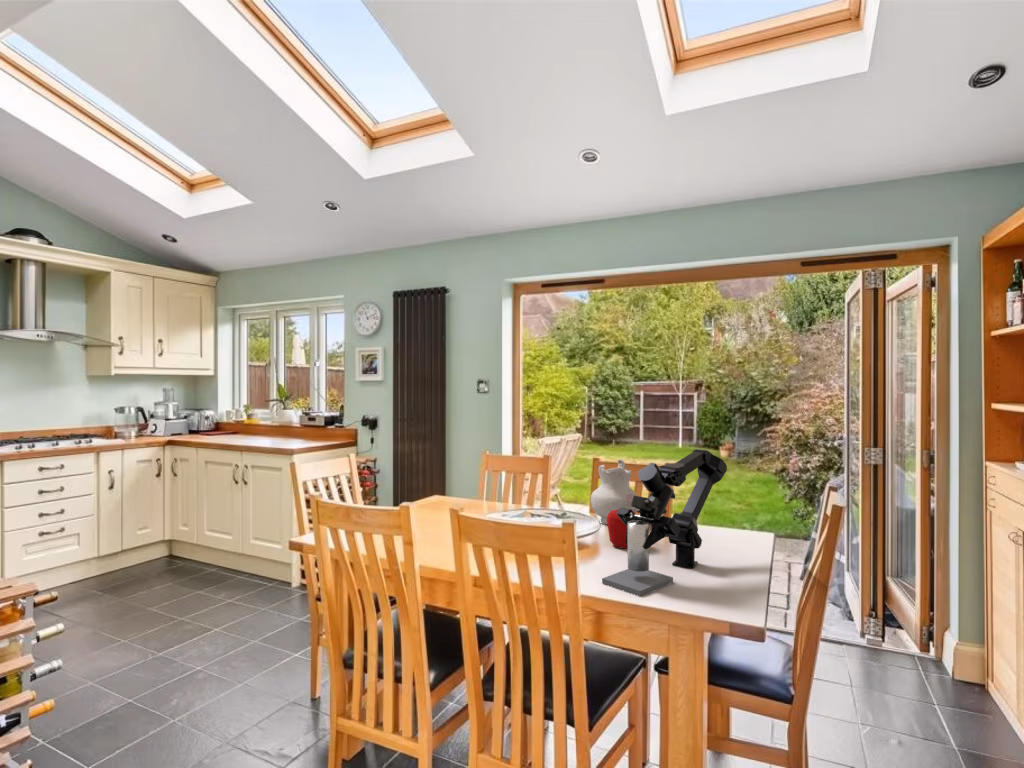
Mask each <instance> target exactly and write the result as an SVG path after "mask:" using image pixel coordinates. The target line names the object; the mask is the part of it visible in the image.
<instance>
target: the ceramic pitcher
mask: <svg viewBox="0 0 1024 768" xmlns="http://www.w3.org/2000/svg"><path fill="white" fill-rule="evenodd" d="M617 462H618V464H617V465H618V466H617V467H612V468H608V469H606V466H605V464H601V465H598V469H597V470H598V475H599V477H600V485H599V487H598V488H596V489H595V490H593V492H592V493H591V495H590V506H591V509H592V510H593V512H594V513H595V514H596V515H597V516H599V517H600V520H601V522H602V524H601V525H604V526H605V525H607V516H608V514H609V512H610V511H612V510H619V508H622V507H623V508H627V509H632V511H634V512H635V513H636V512H637V511H636V510H637V508H635V507H632V506H631V504H632V500H633V496H639V495H638V494H637V493H636V492H635V491H634V490H633V489H632V487H630V478H631V476H632V475H633V471H632V470H631V469H629V470H627V469H626V463H625V461H624V460H623V459H621V458H619V459H618V460H617ZM607 526H608V525H607Z"/></svg>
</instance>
